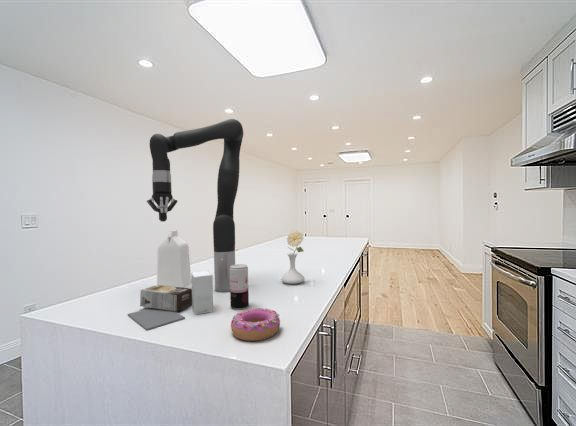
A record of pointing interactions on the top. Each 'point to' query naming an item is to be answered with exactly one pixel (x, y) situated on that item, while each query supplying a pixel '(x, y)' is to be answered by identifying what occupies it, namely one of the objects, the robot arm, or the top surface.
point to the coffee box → (166, 297)
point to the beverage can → (239, 286)
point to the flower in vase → (293, 259)
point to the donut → (255, 324)
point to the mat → (155, 317)
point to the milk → (173, 262)
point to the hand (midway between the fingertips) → (163, 221)
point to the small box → (202, 292)
